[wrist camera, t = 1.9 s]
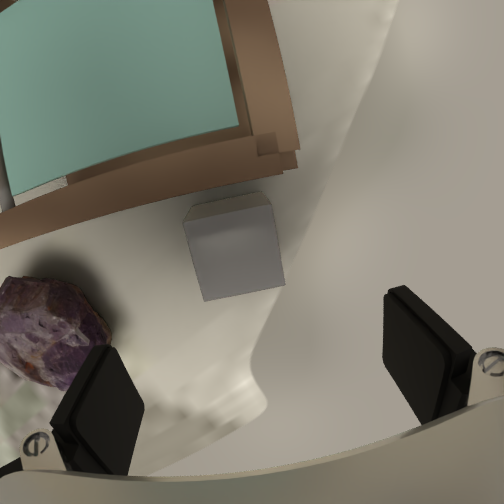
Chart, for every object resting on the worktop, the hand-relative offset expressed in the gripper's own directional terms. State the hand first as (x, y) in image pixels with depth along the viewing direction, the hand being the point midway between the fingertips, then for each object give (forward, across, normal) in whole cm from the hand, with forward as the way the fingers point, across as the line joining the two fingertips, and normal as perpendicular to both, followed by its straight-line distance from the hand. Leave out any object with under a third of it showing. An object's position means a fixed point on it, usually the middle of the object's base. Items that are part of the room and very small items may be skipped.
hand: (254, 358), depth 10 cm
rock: (+14, +16, +2) cm, 22 cm away
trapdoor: (+5, +4, -13) cm, 14 cm away
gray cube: (+14, 0, -1) cm, 14 cm away
